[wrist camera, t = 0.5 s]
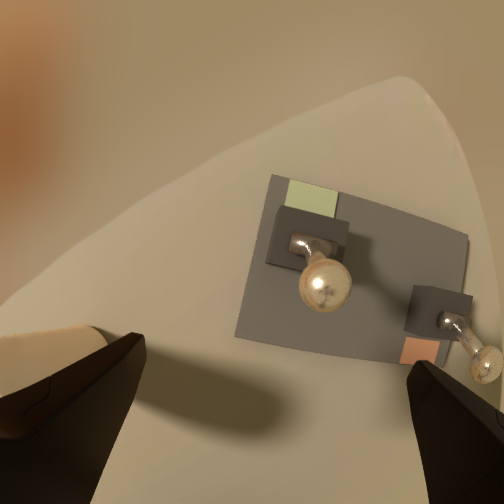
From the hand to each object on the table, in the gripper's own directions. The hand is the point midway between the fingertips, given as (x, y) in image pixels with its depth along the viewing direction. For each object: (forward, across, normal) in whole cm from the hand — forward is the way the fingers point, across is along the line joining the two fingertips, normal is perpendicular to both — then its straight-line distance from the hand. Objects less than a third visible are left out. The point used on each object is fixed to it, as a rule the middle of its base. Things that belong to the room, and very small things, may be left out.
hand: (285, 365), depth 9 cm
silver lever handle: (+11, -15, +4) cm, 19 cm away
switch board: (+16, -8, +4) cm, 18 cm away
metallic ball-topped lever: (+12, -2, 0) cm, 13 cm away
